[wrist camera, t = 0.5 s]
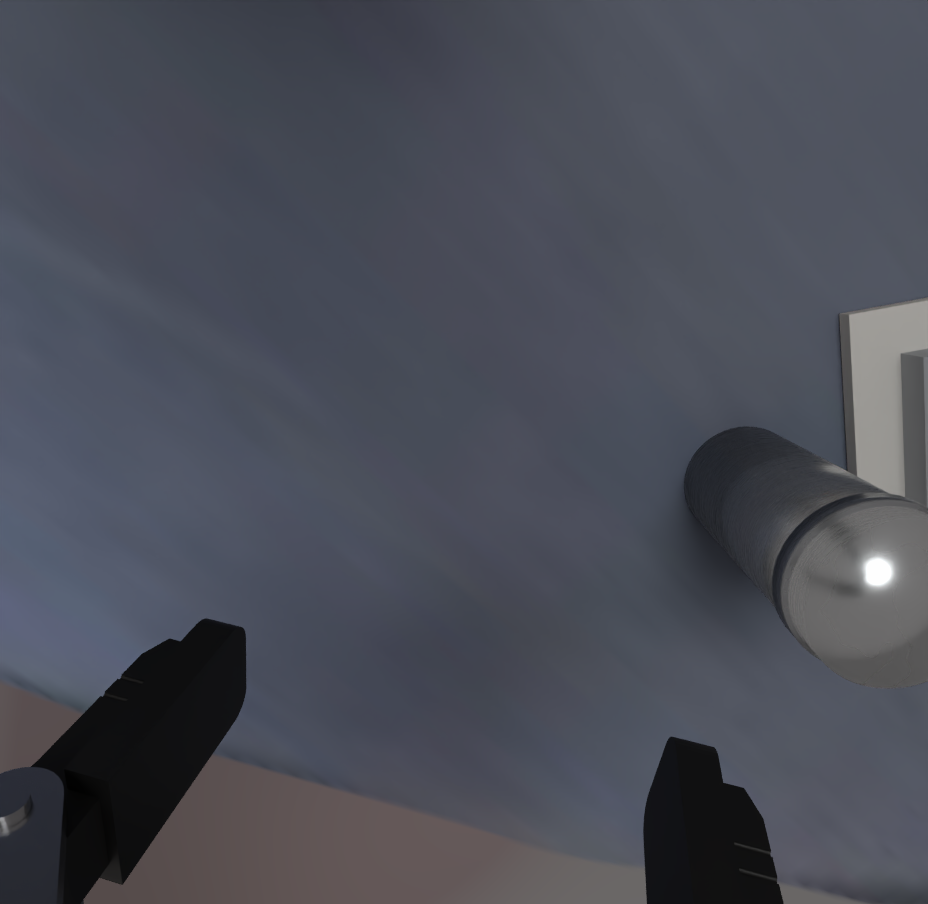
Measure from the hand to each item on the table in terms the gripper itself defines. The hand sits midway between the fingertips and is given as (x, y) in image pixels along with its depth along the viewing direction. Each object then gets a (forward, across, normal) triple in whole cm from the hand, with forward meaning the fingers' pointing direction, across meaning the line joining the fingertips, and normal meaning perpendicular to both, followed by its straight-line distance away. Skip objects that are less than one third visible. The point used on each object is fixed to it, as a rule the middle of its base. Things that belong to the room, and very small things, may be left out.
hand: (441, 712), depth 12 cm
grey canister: (+20, -10, +2) cm, 22 cm away
